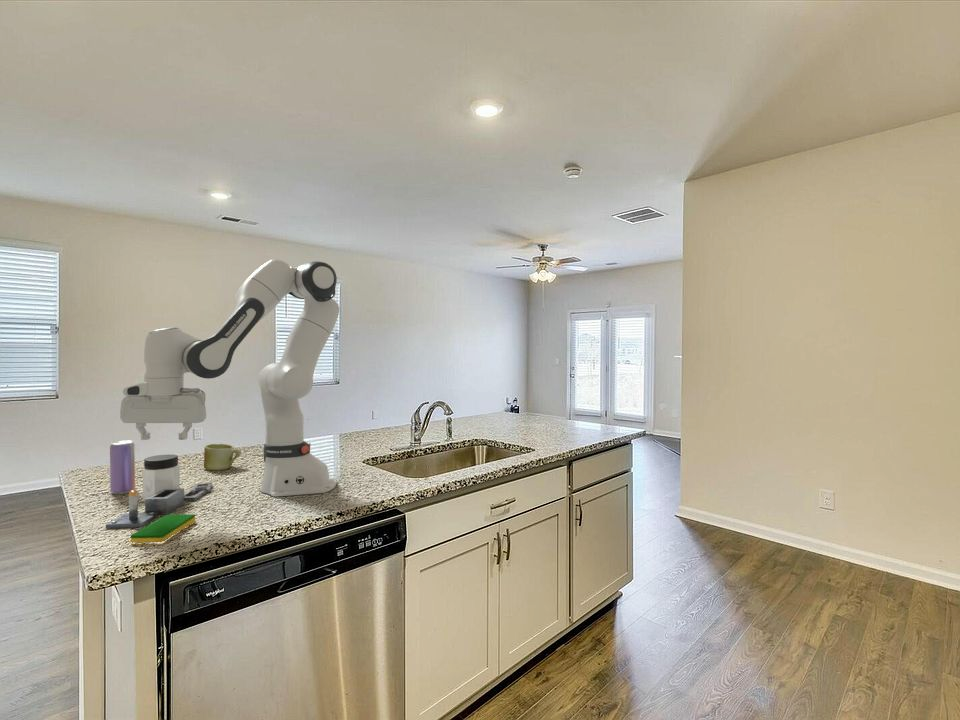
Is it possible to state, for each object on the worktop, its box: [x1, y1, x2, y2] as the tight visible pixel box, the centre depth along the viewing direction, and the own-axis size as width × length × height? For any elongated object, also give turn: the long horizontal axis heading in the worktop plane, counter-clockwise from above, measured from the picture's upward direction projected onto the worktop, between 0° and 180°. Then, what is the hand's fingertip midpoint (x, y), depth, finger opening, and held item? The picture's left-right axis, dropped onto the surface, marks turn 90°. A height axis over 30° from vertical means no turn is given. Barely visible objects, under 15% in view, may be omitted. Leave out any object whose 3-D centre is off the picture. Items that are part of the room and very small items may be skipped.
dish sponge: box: [130, 513, 196, 543], centre depth 115 cm, size 7×14×2 cm, turn 3°
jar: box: [142, 453, 181, 503], centre depth 139 cm, size 9×8×12 cm
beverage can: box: [109, 440, 136, 495], centre depth 146 cm, size 6×6×15 cm
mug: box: [203, 443, 242, 471], centre depth 174 cm, size 12×10×10 cm
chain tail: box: [184, 482, 213, 502], centre depth 145 cm, size 7×16×2 cm, turn 7°
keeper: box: [105, 490, 160, 529], centre depth 121 cm, size 8×8×8 cm
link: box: [144, 488, 185, 516], centre depth 130 cm, size 5×9×4 cm, turn 6°
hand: (164, 439), depth 130 cm, fingers open, 8 cm apart
